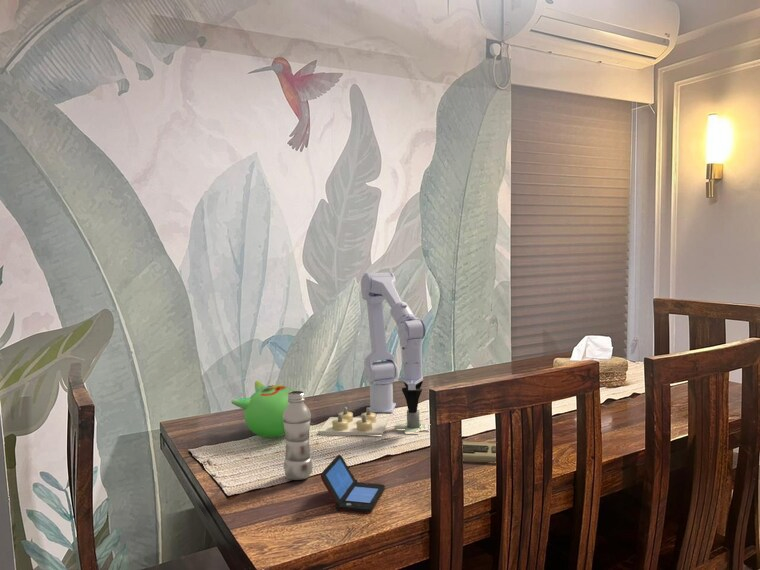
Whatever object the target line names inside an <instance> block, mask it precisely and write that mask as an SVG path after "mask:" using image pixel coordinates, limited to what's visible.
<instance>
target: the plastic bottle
mask: <svg viewBox="0 0 760 570" xmlns="http://www.w3.org/2000/svg"><path fill="white" fill-rule="evenodd" d="M304 393H305V391H303V390H294V391H291V392H288V402H289V404H288V406H287V407H286V409H285V411H284V413H283V423H284V428H285V435H284V436H285V455H284V456H285V459H284V463H283V471H284V474H285V476H286V478H288V479H289V480H293V481H300V480H301V481H302V480H305V479H308V478H309V477H310V476H311V474H312V472H313V466H314V465H313V461H312V457H311V448H310V429H311V428H310V427H311V421H312V420H311V419H312V414H311V410H310V409H309V407H308V406H307V405H306V403H305V394H304Z"/></svg>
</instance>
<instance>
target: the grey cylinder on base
mask: <svg viewBox="0 0 760 570" xmlns="http://www.w3.org/2000/svg"><path fill="white" fill-rule="evenodd" d="M421 422H422V426H423V428H424V429H425V424H426V423H425V424H424V423H423V421H422V420H420V410H419V409H417V412H416V413H409V411H408V409H407V410H406V423H397V424H396V425H395V429H405V431H404V433H405V432H416V430H418V428H419V429H421V427H420V426H421ZM428 429H429V424H428Z"/></svg>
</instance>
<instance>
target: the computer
mask: <svg viewBox="0 0 760 570" xmlns="http://www.w3.org/2000/svg"><path fill="white" fill-rule="evenodd" d="M496 443H497V442H485V441H484V442H481V441H479V442H478V441H463V459H464V462H463V463H476V462H493V463H492V464H495V463H494V462H495V461H496Z"/></svg>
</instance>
